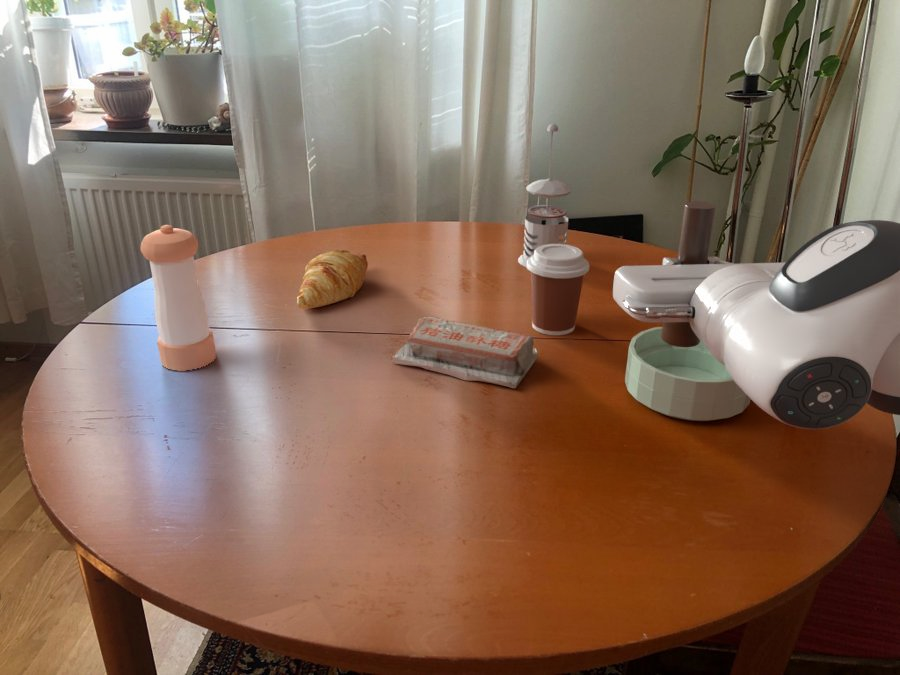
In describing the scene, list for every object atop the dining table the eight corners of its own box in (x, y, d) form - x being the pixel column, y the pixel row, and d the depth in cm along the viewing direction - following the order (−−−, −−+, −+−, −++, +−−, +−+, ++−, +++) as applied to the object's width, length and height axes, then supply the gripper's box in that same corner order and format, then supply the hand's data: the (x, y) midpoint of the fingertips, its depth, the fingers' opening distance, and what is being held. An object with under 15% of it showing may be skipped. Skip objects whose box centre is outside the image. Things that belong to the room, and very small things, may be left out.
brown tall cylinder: (687, 329, 89) (707, 198, 82) (707, 345, 85) (730, 208, 78) (654, 333, 88) (671, 200, 81) (673, 349, 84) (693, 211, 77)
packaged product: (541, 327, 101) (517, 358, 93) (539, 358, 103) (515, 392, 95) (421, 305, 107) (389, 333, 99) (422, 335, 109) (391, 364, 101)
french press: (520, 270, 134) (527, 129, 123) (514, 249, 144) (520, 117, 133) (574, 270, 134) (586, 129, 123) (565, 249, 144) (575, 117, 133)
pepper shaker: (219, 365, 101) (198, 230, 92) (163, 375, 98) (136, 237, 90) (213, 343, 107) (193, 214, 98) (159, 352, 104) (134, 220, 96)
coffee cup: (549, 344, 107) (554, 266, 102) (511, 322, 114) (514, 247, 109) (596, 330, 111) (604, 254, 106) (557, 309, 118) (562, 237, 113)
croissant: (319, 336, 117) (337, 299, 112) (266, 301, 117) (282, 263, 113) (376, 286, 134) (394, 252, 130) (331, 256, 135) (346, 221, 130)
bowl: (706, 359, 103) (712, 320, 100) (774, 416, 90) (784, 373, 87) (605, 372, 100) (609, 332, 97) (661, 433, 86) (667, 388, 84)
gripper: (629, 345, 72) (595, 291, 84) (834, 340, 73) (770, 287, 85) (636, 285, 69) (600, 238, 81) (849, 280, 70) (781, 234, 82)
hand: (688, 263), depth 83 cm, fingers closed on brown tall cylinder, 3 cm apart
